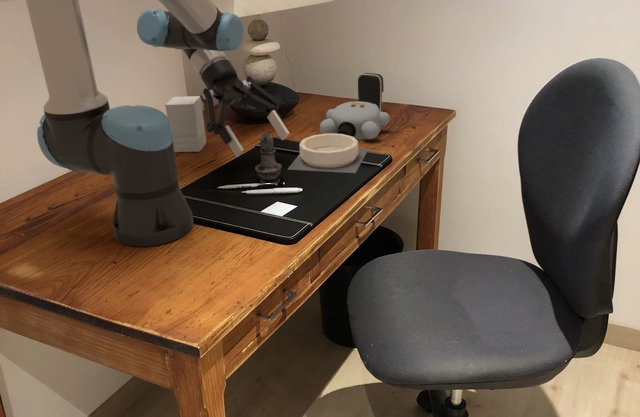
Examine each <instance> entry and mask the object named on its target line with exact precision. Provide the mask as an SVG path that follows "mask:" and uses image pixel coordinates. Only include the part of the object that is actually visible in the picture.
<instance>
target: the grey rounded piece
mask: <svg viewBox="0 0 640 417" xmlns="http://www.w3.org/2000/svg"><path fill="white" fill-rule="evenodd" d="M325 118H326V119H323V120H322V121H321V123H320V124H319V130H320V132H321V134H327V133H330V134H344V135H348V136H352V137H354V138H355V139H356V140H357V141H358V140H359V141H360V140H373V139H375V138H376V137H378V135H379V134H380V132H381V130H382V126H386V125H388V124H389V123H390V119H391V117H390V114H389V113H388V112H385V111H382V112H380V110H379V108H378V106H377V105H376V104H372V103H368V102H360V101H359V100H358V101H357V100H356V101H347V102H343V103H341V104H339V105H337V106H336V107H335V108H330V109H328V110H327V112H326V114H325Z"/></svg>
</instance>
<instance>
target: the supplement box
mask: <svg viewBox="0 0 640 417" xmlns="http://www.w3.org/2000/svg"><path fill="white" fill-rule="evenodd" d="M164 106H165V112H166V116H167V118H168V120H169V124H170V128H171V131H172V135H173V145H174V152H175V153H195V152H197V153H200V152H201V151H202V149H203V148H204V147H205V145H206V144H207V137H206V128H205V121H204V114H203V106H202V99H201V97H200V95H196V96H193V95H192V96H173V97H171V99H170V100H168V102H167V103H165V105H164Z"/></svg>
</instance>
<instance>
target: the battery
mask: <svg viewBox="0 0 640 417" xmlns="http://www.w3.org/2000/svg"><path fill="white" fill-rule="evenodd" d="M383 92H384V77H383V75H381V74H379V73H374V72H372V73H371V72H364V73H362V74H360V75H359V76H358V78H357V96H358V101H360V102H368V103H372V104H376V105H377V106H378V108H379V110H380V112H383V106H382V105H383V104H382V100H383Z"/></svg>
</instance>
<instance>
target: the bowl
mask: <svg viewBox="0 0 640 417" xmlns="http://www.w3.org/2000/svg"><path fill="white" fill-rule="evenodd" d="M298 146H299V154H300V157H301V158H302V159H303V161H304V163H305V164H307V165H309V166H312V167H316V168H338V167H343V166H346V165H349V164H351V163H352V162H354V161H355V159H356V157H357V155H358V148H359V141H358V140H356V139H355V138H354V137H352V136H348V135H344V134H330V133H327V134H322V133H321V134H320V133H319V134H314V135H311V136H309V137H306V138H303V139H302V140H301V141H300V142H299V145H298Z"/></svg>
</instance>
